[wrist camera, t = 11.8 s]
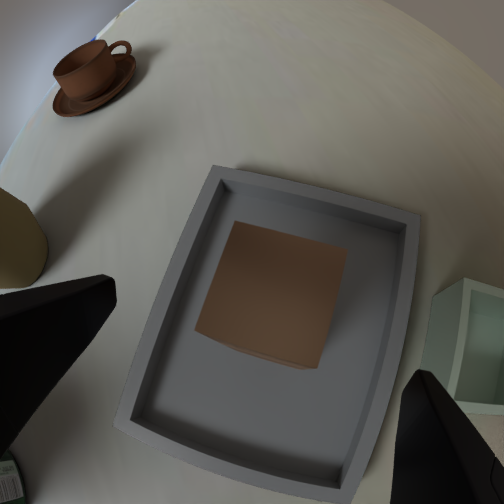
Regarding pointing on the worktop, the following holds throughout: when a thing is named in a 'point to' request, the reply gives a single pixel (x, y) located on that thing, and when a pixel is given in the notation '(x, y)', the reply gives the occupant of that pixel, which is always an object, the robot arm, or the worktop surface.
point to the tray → (266, 372)
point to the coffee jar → (10, 481)
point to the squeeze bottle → (19, 244)
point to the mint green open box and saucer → (91, 77)
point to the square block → (273, 295)
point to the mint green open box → (468, 345)
